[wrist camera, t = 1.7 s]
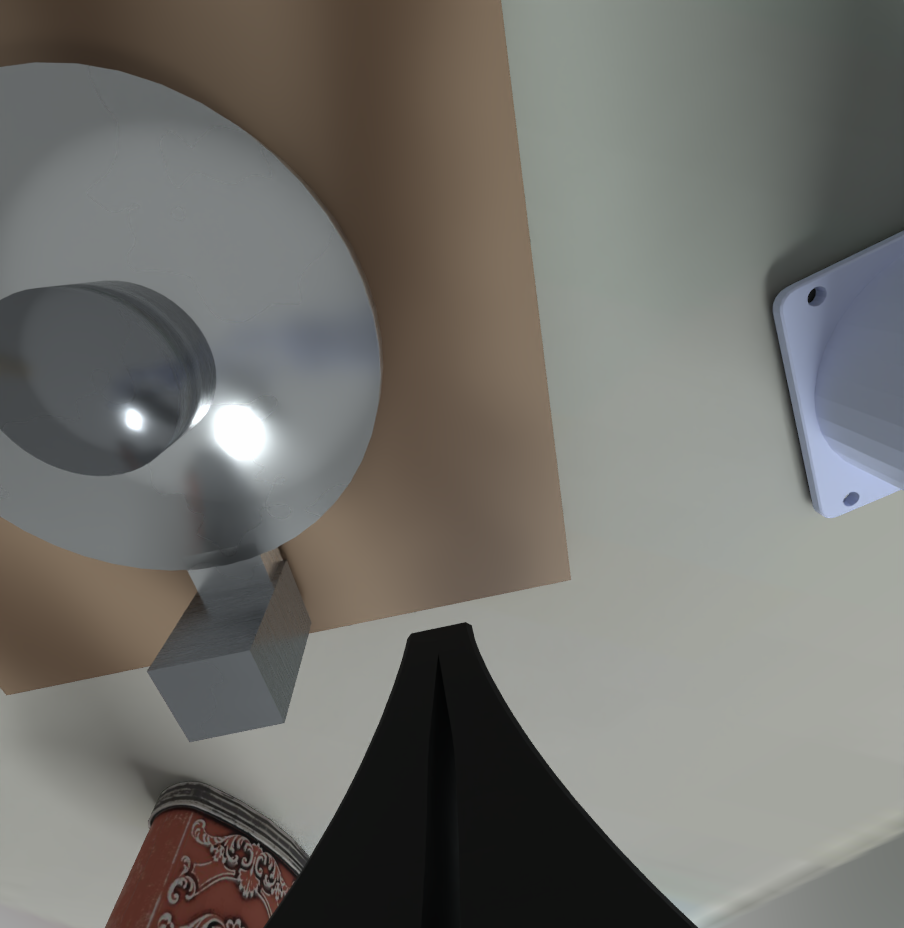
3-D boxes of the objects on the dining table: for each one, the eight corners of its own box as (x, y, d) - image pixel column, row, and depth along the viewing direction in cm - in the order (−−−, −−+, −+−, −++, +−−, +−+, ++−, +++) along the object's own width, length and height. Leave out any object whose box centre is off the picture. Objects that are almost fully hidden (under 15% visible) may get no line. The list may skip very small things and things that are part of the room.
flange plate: (306, 28, 10) (248, -90, 7) (446, 590, 16) (455, 688, 12) (-221, 145, 10) (-552, 92, 7) (107, 660, 16) (21, 775, 12)
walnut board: (459, -252, 10) (510, -809, 4) (562, 562, 17) (624, 692, 12) (-489, -34, 10) (-1445, -330, 5) (28, 672, 17) (-129, 844, 12)
